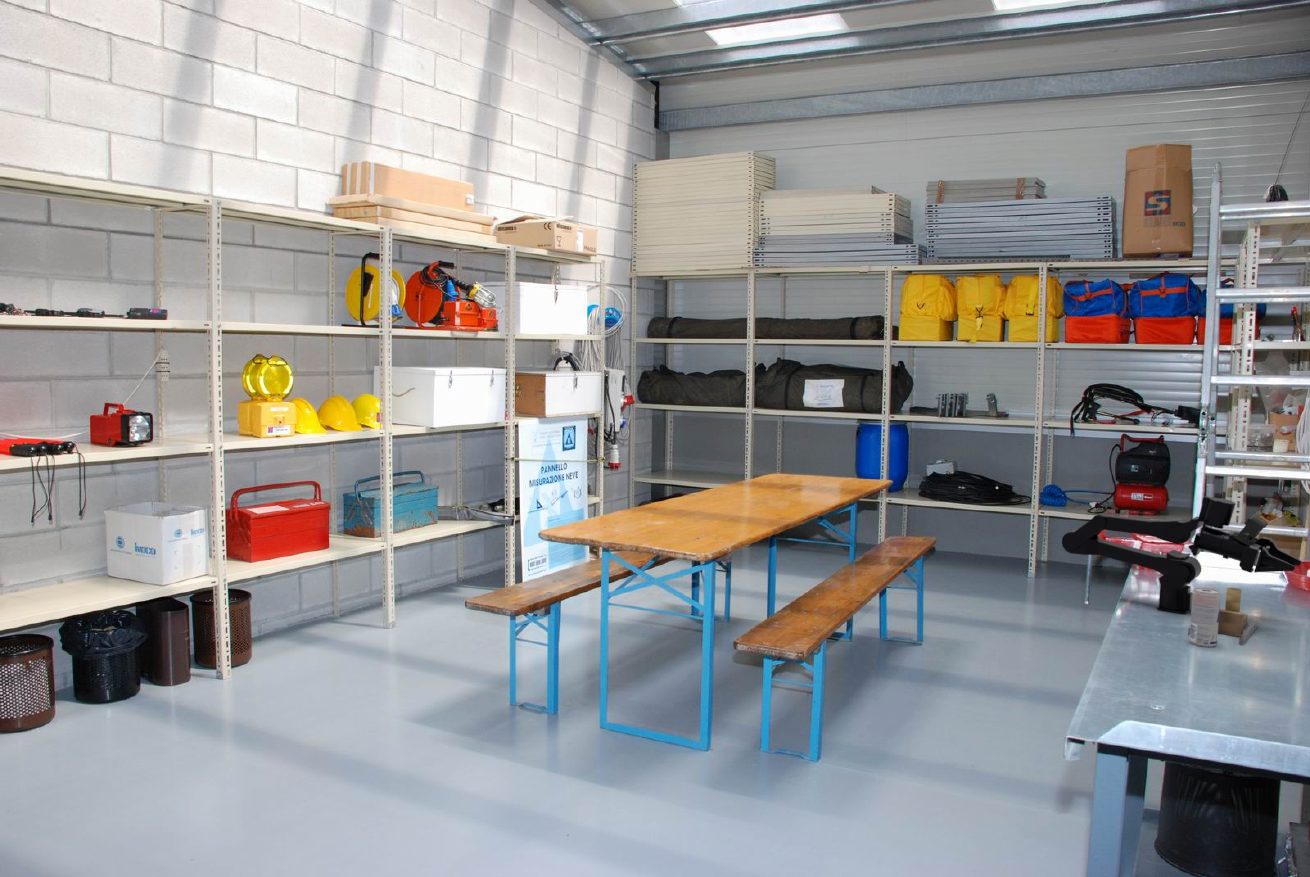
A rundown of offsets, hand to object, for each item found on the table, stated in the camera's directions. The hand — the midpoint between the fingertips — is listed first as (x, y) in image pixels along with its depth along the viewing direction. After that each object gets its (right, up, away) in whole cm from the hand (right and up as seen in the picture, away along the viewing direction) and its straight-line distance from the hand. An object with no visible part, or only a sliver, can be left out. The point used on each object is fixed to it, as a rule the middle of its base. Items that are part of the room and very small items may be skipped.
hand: (1297, 566), depth 225 cm
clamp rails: (-17, -15, 0) cm, 23 cm away
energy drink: (-28, -16, -10) cm, 34 cm away
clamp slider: (-14, -15, +3) cm, 21 cm away
